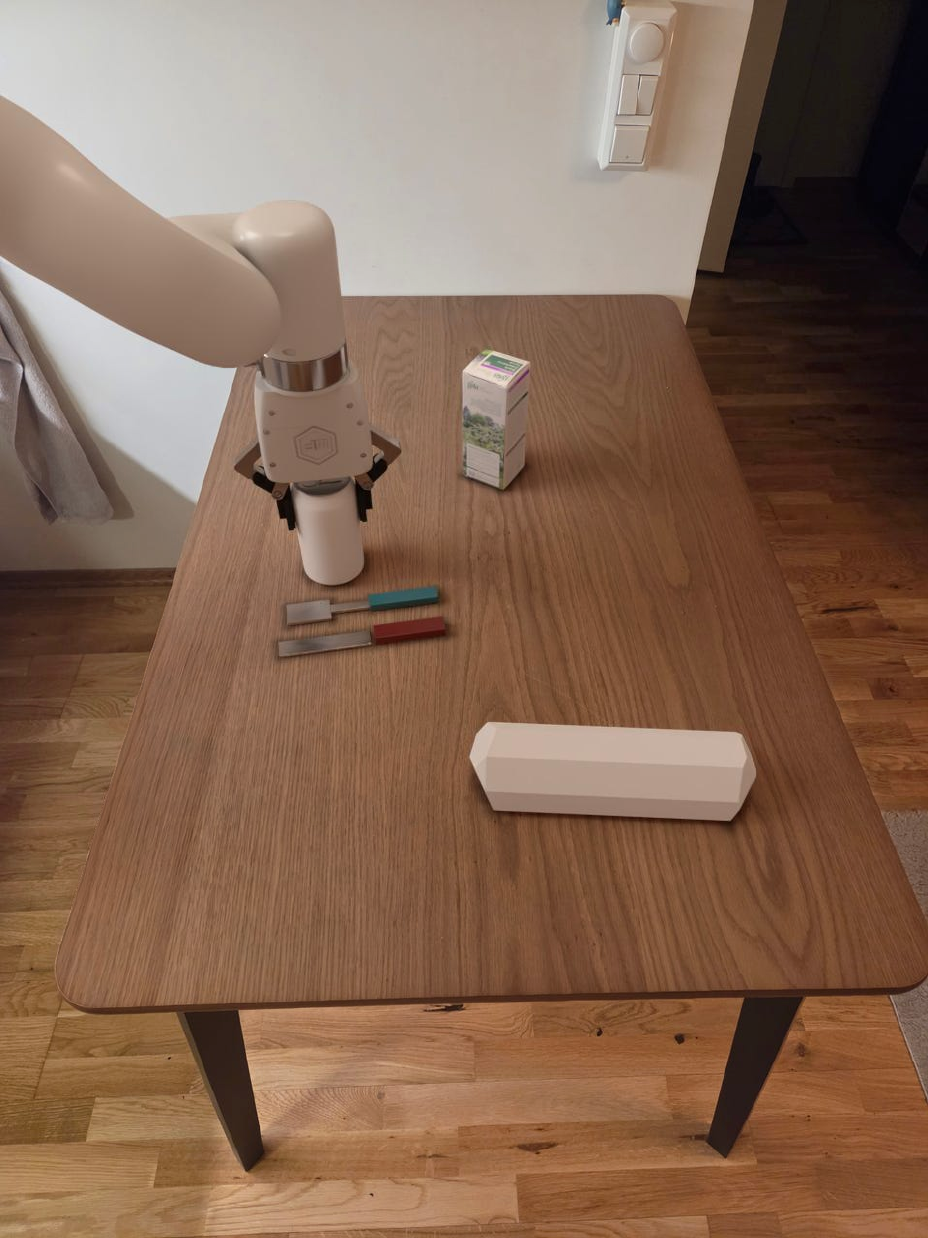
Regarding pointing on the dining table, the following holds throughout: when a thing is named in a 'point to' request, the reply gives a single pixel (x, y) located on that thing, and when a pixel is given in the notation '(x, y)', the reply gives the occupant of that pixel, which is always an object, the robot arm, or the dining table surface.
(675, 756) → the crystal
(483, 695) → the dining table surface
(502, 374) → the syrup box
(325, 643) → the knife
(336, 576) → the can
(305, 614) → the teal handled spatula
